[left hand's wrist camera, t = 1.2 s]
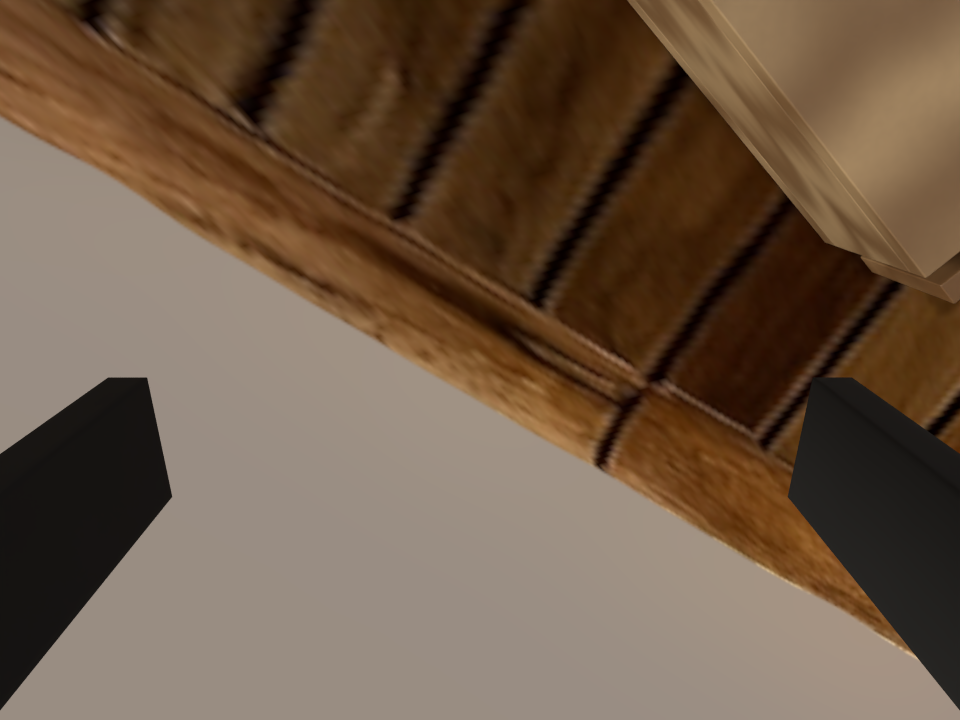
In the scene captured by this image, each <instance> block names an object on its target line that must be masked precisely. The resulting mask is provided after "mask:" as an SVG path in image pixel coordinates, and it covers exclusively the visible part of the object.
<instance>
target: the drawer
mask: <svg viewBox="0 0 960 720" xmlns="http://www.w3.org/2000/svg"><path fill="white" fill-rule="evenodd" d="M861 259H862V260H863V261H864V262H865V264H866V265H867V266H868V267H869V269H870V270H871V271H872V272H874V273H876V274H879V275H881V276H884V277H886V278H889V279H892V280H894V281H897V282H899V283H902V284H905V285H907V286H910V287H912V288H915V289H917V290H920V291H923V292H925V293H928V294H930V295H933V296H935V297H938V298H941V299H943V300H946V301H948V302H951V303H956V302H957V301H959V300H960V252H959V253H957V254H956V255H955V256H954V257H952V258H951V259H950V260H949V261H947V262H946V263H945V264H944V265H942V266H941V267H940V268H938V269H937V270H936V271H935V272H933V273H932V274H931V275H930V276H928V277H927V278H924V277H921V276H919V275H916V274H913V273H911V272H907V271H904V270H902V269H899V268H896V267H893V266H890V265H888V264H885V263H882V262H879V261H876V260H873V259H871V258H868V257H865V256H861Z"/></svg>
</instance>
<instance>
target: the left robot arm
mask: <svg viewBox="0 0 960 720" xmlns="http://www.w3.org/2000/svg"><path fill="white" fill-rule="evenodd" d="M171 498H172V494H171V489H170V484H169V480H168V475H167V470H166V465H165V461H164V456H163V451H162V446H161V441H160V437H159V432H158V427H157V422H156V418H155V413H154V408H153V404H152V399H151V394H150V389H149V385H148V380H147V378H107V379H106V380H104V381H103V382H101V383H100V384H98V385H97V386H96V387H94V388H93V389H91V390H90V391H89V392H87V393H86V394H84V395H83V396H82V397H80V398H79V399H77V400H76V401H75V402H73V403H72V404H70V405H69V406H67V407H66V408H65V409H63V410H62V411H60V412H59V413H58V414H56V415H55V416H53V417H52V418H50V419H49V420H48V421H46V422H45V423H43V424H42V425H41V426H39V427H38V428H36V429H35V430H34V431H32V432H31V433H29V434H28V435H26V436H25V437H24V438H22V439H21V440H19V441H18V442H17V443H15V444H14V445H12V446H11V447H10V448H8V449H7V450H5V451H4V452H2V453H1V454H0V710H1V709H2V707H3V706H4V705H5V704H6V702H7V701H8V700H9V699H10V697H11V696H12V695H13V694H14V692H15V691H16V690H17V689H18V688H19V686H20V685H21V684H22V682H23V681H24V680H25V679H26V678H27V676H28V675H29V674H30V673H31V671H32V670H33V669H34V668H35V666H36V665H37V664H38V663H39V661H40V660H41V659H42V658H43V656H44V655H45V654H46V653H47V651H48V650H49V649H50V648H51V647H52V645H53V644H54V643H55V642H56V640H57V639H58V638H59V637H60V635H61V634H62V633H63V632H64V630H65V629H66V628H67V627H68V625H69V624H70V623H71V622H72V620H73V619H74V618H75V617H76V615H77V614H78V613H79V612H80V611H81V609H82V608H83V607H84V606H85V604H86V603H87V602H88V601H89V599H90V598H91V597H92V596H93V594H94V593H95V592H96V591H97V589H98V588H99V587H100V586H101V584H102V583H103V582H104V581H105V579H106V578H107V577H108V576H109V574H110V573H111V572H112V571H113V570H114V568H115V567H116V566H117V565H118V563H119V562H120V561H121V560H122V558H123V557H124V556H125V555H126V553H127V552H128V551H129V550H130V548H131V547H132V546H133V545H134V543H135V542H136V541H137V540H138V538H139V537H140V536H141V535H142V533H143V532H144V531H145V530H146V529H147V527H148V526H149V525H150V524H151V522H152V521H153V520H154V519H155V517H156V516H157V515H158V514H159V512H160V511H161V510H162V509H163V507H164V506H165V505H166V504H167V502H168V501H169V500H170V499H171ZM788 498H789V499H790V500H791V501H792V502H793V504H794V505H795V506H796V507H797V509H798V510H799V511H800V512H801V514H802V515H803V516H804V517H805V519H806V520H807V521H808V522H809V524H810V525H811V526H812V527H813V529H814V530H815V531H816V532H817V534H818V535H819V536H820V537H821V539H822V540H823V541H824V542H825V543H826V545H827V546H828V547H829V548H830V550H831V551H832V552H833V553H834V555H835V556H836V557H837V558H838V560H839V561H840V562H841V563H842V565H843V566H844V567H845V568H846V570H847V571H848V572H849V573H850V575H851V576H852V577H853V578H854V579H855V581H856V582H857V583H858V584H859V586H860V587H861V588H862V589H863V591H864V592H865V593H866V594H867V596H868V597H869V598H870V599H871V601H872V602H873V603H874V604H875V606H876V607H877V608H878V609H879V611H880V612H881V613H882V614H883V615H884V617H885V618H886V619H887V620H888V622H889V623H890V624H891V625H892V627H893V628H894V629H895V630H896V632H897V633H898V634H899V635H900V637H901V638H902V639H903V640H904V642H905V643H906V644H907V645H908V647H909V648H910V649H911V650H912V652H913V653H914V654H915V655H916V656H917V658H918V659H919V660H920V661H921V663H922V664H923V665H924V666H925V668H926V669H927V670H928V671H929V673H930V674H931V675H932V676H933V678H934V679H935V680H936V681H937V683H938V684H939V685H940V686H941V688H942V689H943V690H944V691H945V692H946V694H947V695H948V696H949V697H950V699H951V700H952V701H953V702H954V704H955V705H956V706H957V707H958V709H959V710H960V454H959V453H958V452H956V451H955V450H953V449H952V448H951V447H949V446H948V445H946V444H945V443H943V442H942V441H941V440H939V439H938V438H936V437H935V436H934V435H932V434H931V433H929V432H928V431H926V430H925V429H924V428H922V427H921V426H919V425H918V424H917V423H915V422H914V421H912V420H911V419H910V418H908V417H907V416H905V415H904V414H902V413H901V412H900V411H898V410H897V409H895V408H894V407H893V406H891V405H890V404H888V403H887V402H886V401H884V400H883V399H881V398H880V397H878V396H877V395H876V394H874V393H873V392H871V391H870V390H869V389H867V388H866V387H864V386H863V385H862V384H860V383H859V382H857V381H856V380H854V379H853V378H813V380H812V385H811V389H810V394H809V399H808V404H807V408H806V413H805V418H804V422H803V427H802V432H801V437H800V441H799V446H798V451H797V456H796V460H795V465H794V470H793V475H792V479H791V484H790V489H789V494H788Z"/></svg>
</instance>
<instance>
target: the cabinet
mask: <svg viewBox="0 0 960 720" xmlns="http://www.w3.org/2000/svg"><path fill="white" fill-rule="evenodd" d="M627 1H628V2H629V3H630V4H631V6H632V7H633V8H634V9H635V10H636V12H637V13H638V14H639V15H640V17H641V18H642V19H643V20H644V21H645V23H646V24H647V25H648V26H649V28H650V29H651V30H652V31H653V32H654V34H655V35H656V36H657V37H658V39H659V40H660V41H661V42H662V44H663V45H664V46H665V47H666V48H667V50H668V51H669V52H670V53H671V55H672V56H673V57H674V58H675V59H676V61H677V62H678V63H679V64H680V66H681V67H682V68H683V69H684V70H685V72H686V73H687V74H688V75H689V77H690V78H691V79H692V80H693V81H694V83H695V84H696V85H697V86H698V88H699V89H700V90H701V91H702V92H703V94H704V95H705V96H706V97H707V99H708V100H709V101H710V102H711V103H712V105H713V106H714V107H715V108H716V110H717V111H718V112H719V113H720V114H721V116H722V117H723V118H724V119H725V121H726V122H727V123H728V124H729V125H730V127H731V128H732V129H733V130H734V132H735V133H736V134H737V135H738V136H739V138H740V139H741V140H742V141H743V143H744V144H745V145H746V146H747V147H748V149H749V150H750V151H751V152H752V154H753V155H754V156H755V157H756V159H757V160H758V161H759V162H760V163H761V165H762V166H763V167H764V168H765V170H766V171H767V172H768V173H769V174H770V176H771V177H772V178H773V179H774V181H775V182H776V183H777V184H778V185H779V187H780V188H781V189H782V190H783V192H784V193H785V194H786V195H787V196H788V198H789V199H790V200H791V201H792V203H793V204H794V205H795V206H796V207H797V209H798V210H799V211H800V212H801V214H802V215H803V216H804V217H805V218H806V220H807V221H808V222H809V223H810V225H811V226H812V227H813V228H814V229H815V231H816V232H817V233H818V234H819V236H820V237H821V238H822V239H823V240H824V242H826V243H828V244H831V245H834V246H837V247H840V248H842V249H845V250H848V251H851V252H854V253H857V254H859V255H862V256H865V257H868V258H871V259H873V260H876V261H879V262H882V263H885V264H888V265H890V266H893V267H896V268H899V269H902V270H904V271H907V272H911V273H913V274H916V275H919V276H921V277H924V278H927V277H928V276H930V275H931V274H932V273H933V272H935V271H936V270H937V269H938V268H940V267H941V266H942V265H944V264H945V263H946V262H947V261H949V260H950V259H951V258H952V257H954V256H955V255H956V254H957V253H959V252H960V0H627Z"/></svg>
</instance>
